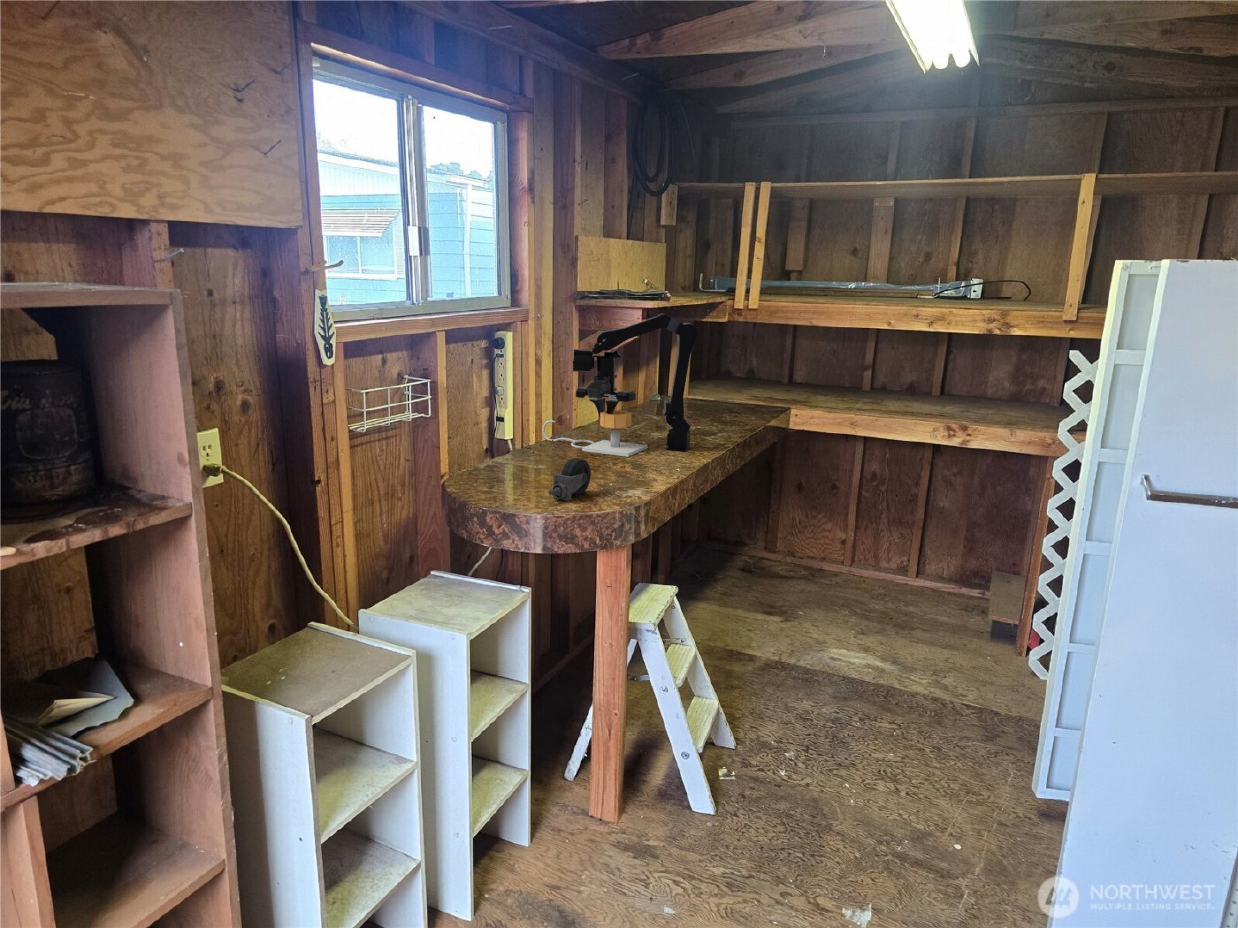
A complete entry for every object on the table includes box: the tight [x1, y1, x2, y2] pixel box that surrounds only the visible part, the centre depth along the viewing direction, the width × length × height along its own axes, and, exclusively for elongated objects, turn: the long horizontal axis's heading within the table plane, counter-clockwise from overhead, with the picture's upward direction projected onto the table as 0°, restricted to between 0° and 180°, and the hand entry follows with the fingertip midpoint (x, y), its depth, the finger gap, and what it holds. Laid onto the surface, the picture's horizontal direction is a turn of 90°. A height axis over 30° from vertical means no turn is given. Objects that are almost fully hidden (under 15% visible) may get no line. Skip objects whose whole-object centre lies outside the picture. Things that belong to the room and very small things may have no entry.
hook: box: [541, 419, 595, 449], centre depth 253 cm, size 7×9×20 cm
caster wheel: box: [548, 457, 592, 502], centre depth 189 cm, size 6×10×15 cm
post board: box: [581, 428, 648, 458], centre depth 243 cm, size 16×14×6 cm
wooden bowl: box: [599, 409, 633, 429], centre depth 242 cm, size 9×9×4 cm
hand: (605, 421), depth 244 cm, fingers closed on wooden bowl, 2 cm apart
